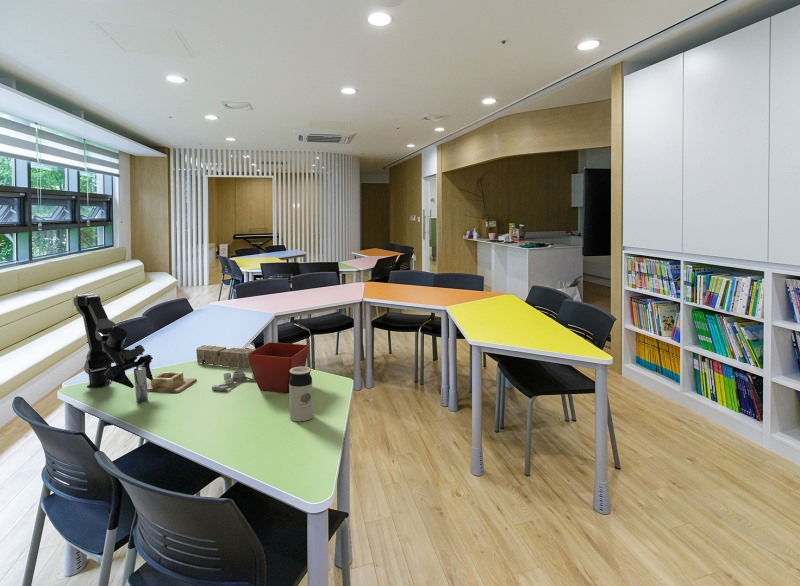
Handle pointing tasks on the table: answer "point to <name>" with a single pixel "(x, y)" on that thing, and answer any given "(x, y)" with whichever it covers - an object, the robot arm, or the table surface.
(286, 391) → the plant pot
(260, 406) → the table surface
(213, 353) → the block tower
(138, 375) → the metal pin
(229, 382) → the pulley system
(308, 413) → the travel mug
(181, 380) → the socket board
